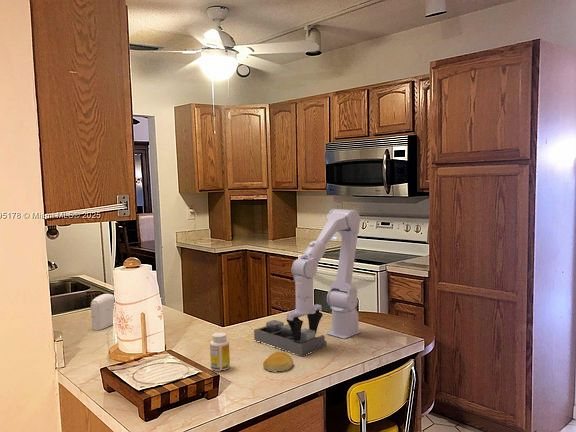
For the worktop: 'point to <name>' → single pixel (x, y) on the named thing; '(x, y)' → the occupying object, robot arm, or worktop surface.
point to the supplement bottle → (219, 352)
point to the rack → (287, 338)
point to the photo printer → (102, 311)
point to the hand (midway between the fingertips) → (305, 337)
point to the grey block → (306, 335)
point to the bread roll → (278, 362)
